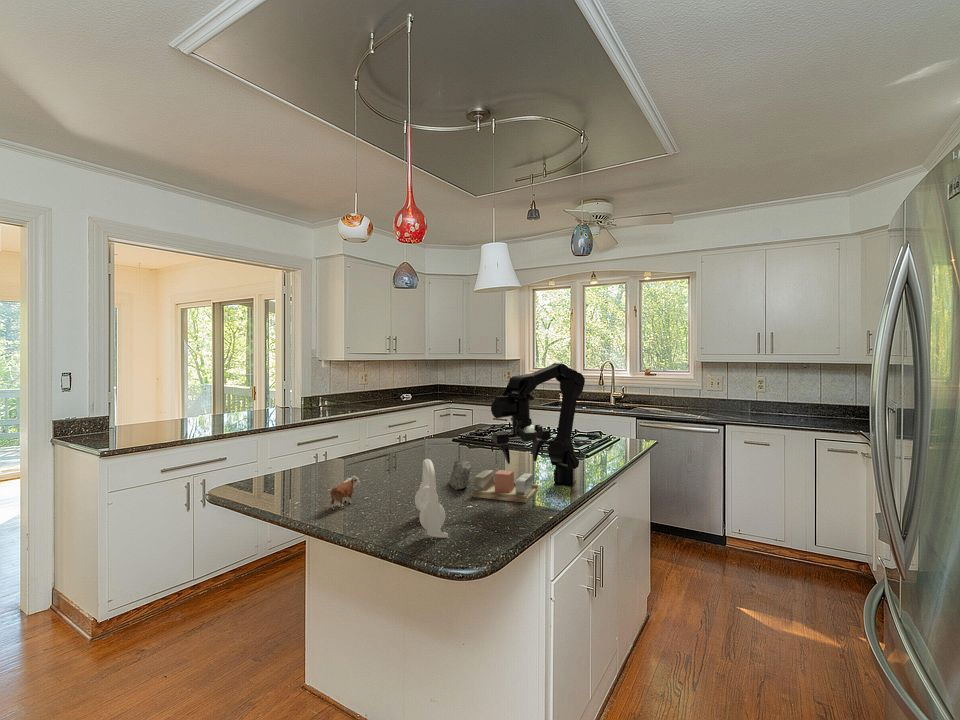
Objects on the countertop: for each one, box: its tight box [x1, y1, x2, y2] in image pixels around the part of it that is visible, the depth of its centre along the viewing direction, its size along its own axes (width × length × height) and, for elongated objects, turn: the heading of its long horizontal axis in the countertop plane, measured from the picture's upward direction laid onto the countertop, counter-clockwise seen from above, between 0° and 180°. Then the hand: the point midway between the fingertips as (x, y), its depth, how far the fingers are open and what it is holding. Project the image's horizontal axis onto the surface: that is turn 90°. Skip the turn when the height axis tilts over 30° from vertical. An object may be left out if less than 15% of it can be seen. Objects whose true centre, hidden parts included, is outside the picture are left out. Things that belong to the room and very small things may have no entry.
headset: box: [414, 458, 449, 539], centre depth 136 cm, size 20×7×18 cm, turn 12°
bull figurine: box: [330, 475, 361, 508], centre depth 155 cm, size 4×13×8 cm, turn 161°
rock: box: [449, 459, 472, 491], centre depth 175 cm, size 15×8×10 cm, turn 178°
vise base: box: [471, 469, 539, 503], centre depth 165 cm, size 18×14×6 cm
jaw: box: [514, 472, 534, 495], centre depth 163 cm, size 3×10×5 cm, turn 158°
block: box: [494, 469, 515, 493], centre depth 165 cm, size 5×5×6 cm
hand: (521, 462), depth 163 cm, fingers open, 9 cm apart
